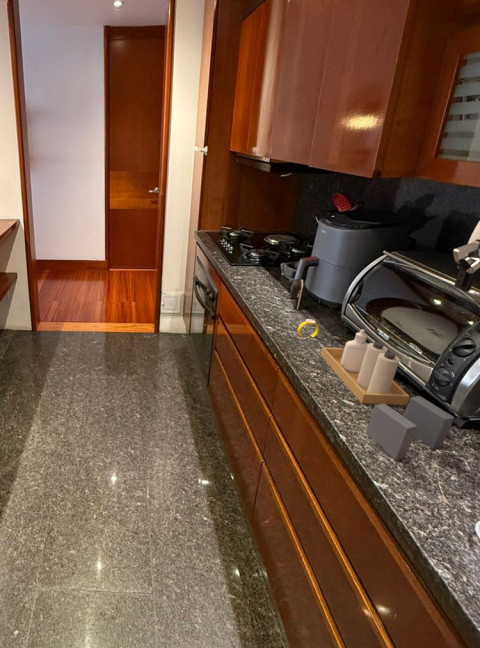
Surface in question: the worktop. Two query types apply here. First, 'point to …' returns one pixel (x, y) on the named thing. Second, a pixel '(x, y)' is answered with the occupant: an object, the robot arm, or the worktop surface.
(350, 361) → the eye dropper bottle
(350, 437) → the worktop surface
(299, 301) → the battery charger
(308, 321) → the watch
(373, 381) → the white bottles
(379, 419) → the grey rectangular blocks
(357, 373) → the tray
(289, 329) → the worktop surface
